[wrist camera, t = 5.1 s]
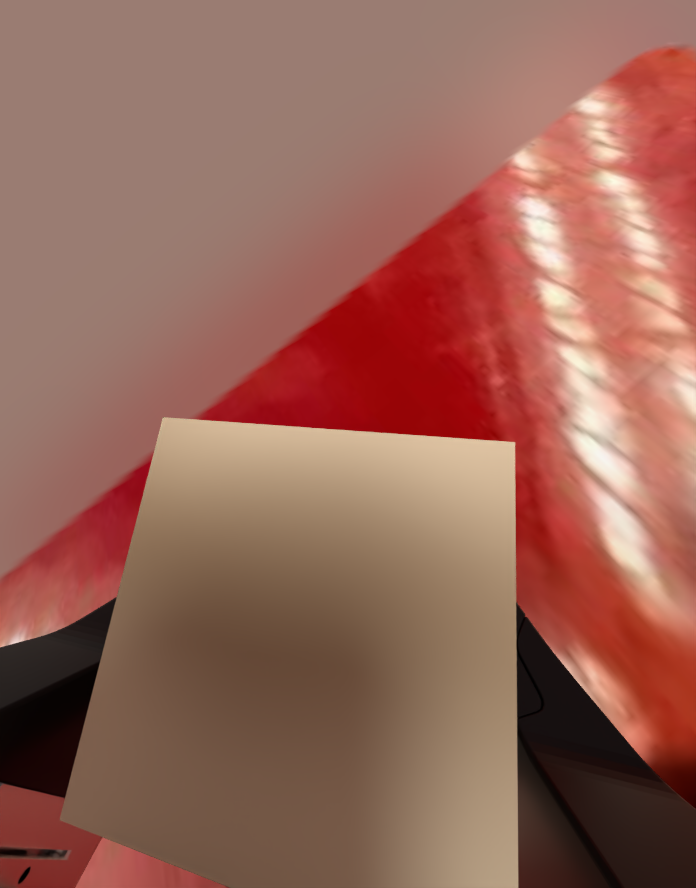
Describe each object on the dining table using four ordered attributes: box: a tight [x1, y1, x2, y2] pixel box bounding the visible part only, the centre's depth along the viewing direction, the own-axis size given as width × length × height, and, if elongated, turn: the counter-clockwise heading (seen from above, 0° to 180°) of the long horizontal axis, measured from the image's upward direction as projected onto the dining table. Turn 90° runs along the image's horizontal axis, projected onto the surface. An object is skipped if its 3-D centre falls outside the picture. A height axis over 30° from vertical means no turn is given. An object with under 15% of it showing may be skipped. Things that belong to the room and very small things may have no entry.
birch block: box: [60, 417, 518, 888], centre depth 10 cm, size 6×6×12 cm
